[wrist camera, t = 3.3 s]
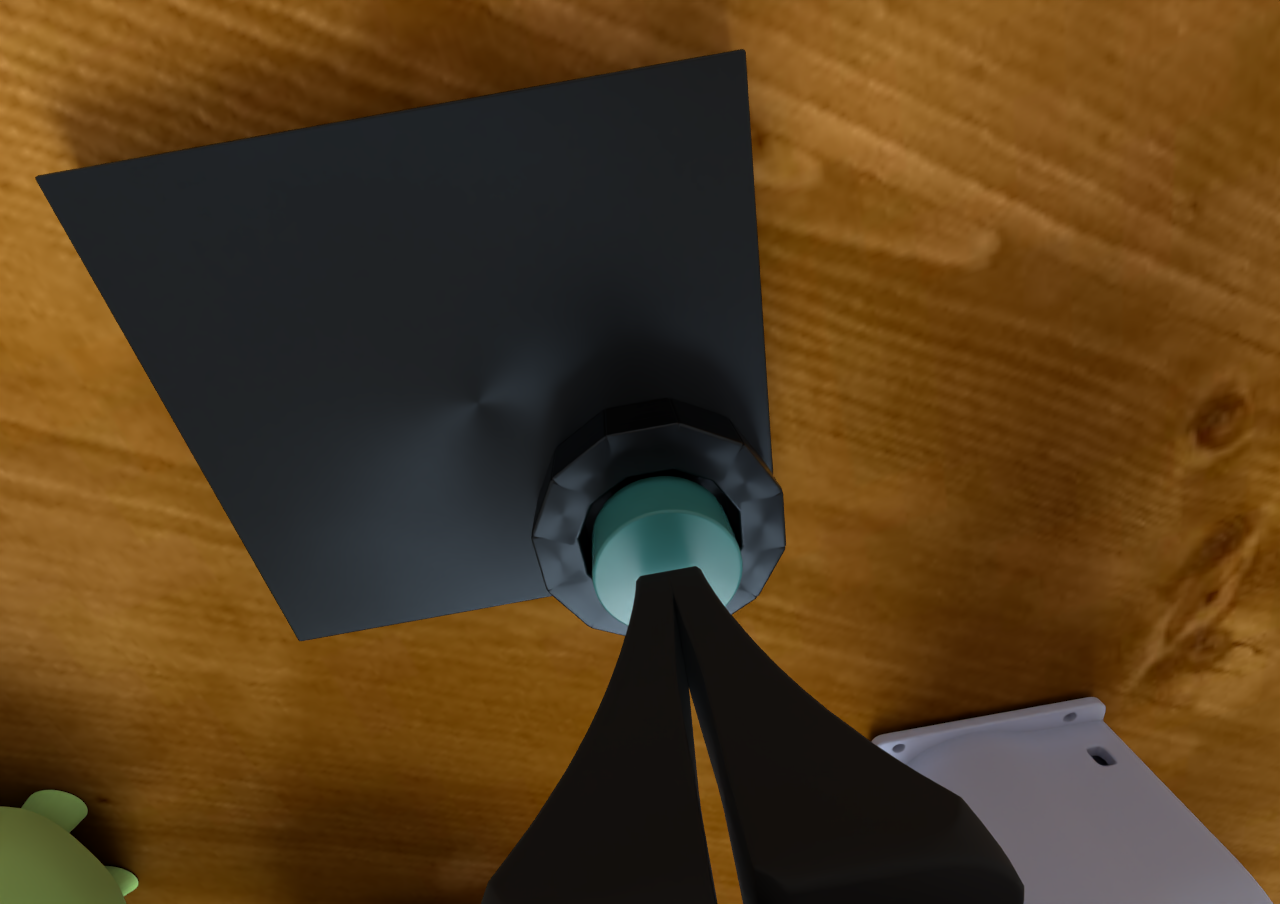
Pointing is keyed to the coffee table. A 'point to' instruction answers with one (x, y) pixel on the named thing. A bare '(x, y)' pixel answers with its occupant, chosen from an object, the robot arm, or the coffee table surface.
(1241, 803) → the coffee table surface
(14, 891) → the teapot
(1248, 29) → the coffee table surface
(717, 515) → the button
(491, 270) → the scale
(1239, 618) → the coffee table surface
